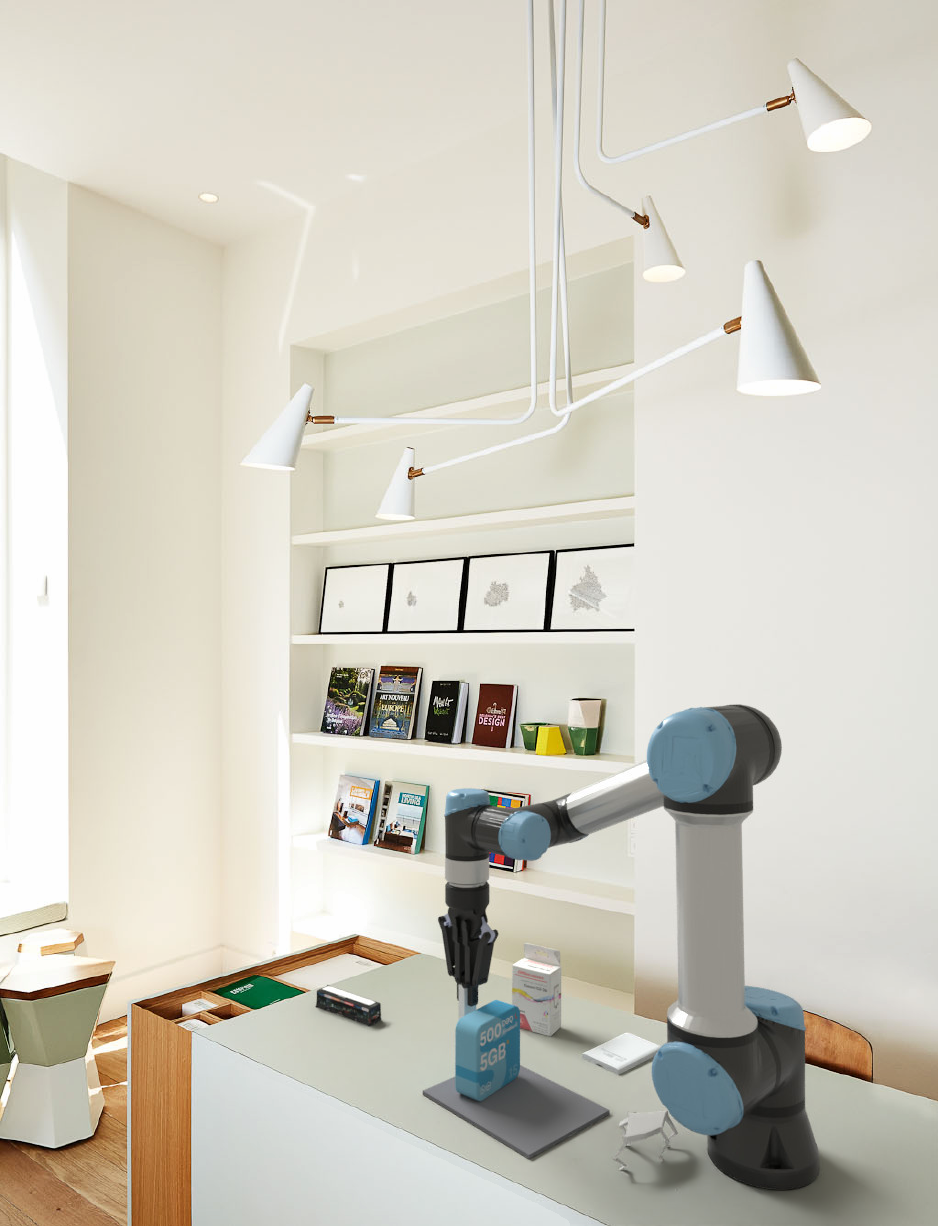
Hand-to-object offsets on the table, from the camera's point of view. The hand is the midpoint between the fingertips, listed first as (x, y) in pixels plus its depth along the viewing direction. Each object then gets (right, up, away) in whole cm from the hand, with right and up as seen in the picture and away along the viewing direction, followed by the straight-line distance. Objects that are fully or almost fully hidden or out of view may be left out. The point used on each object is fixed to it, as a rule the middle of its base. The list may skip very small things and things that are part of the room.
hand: (467, 1022), depth 149 cm
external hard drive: (+28, -10, +8) cm, 31 cm away
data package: (+3, -9, -4) cm, 10 cm away
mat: (+7, -9, -9) cm, 14 cm away
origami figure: (+25, -9, -23) cm, 35 cm away
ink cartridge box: (+13, -10, +19) cm, 26 cm away
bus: (-23, -11, +23) cm, 34 cm away
